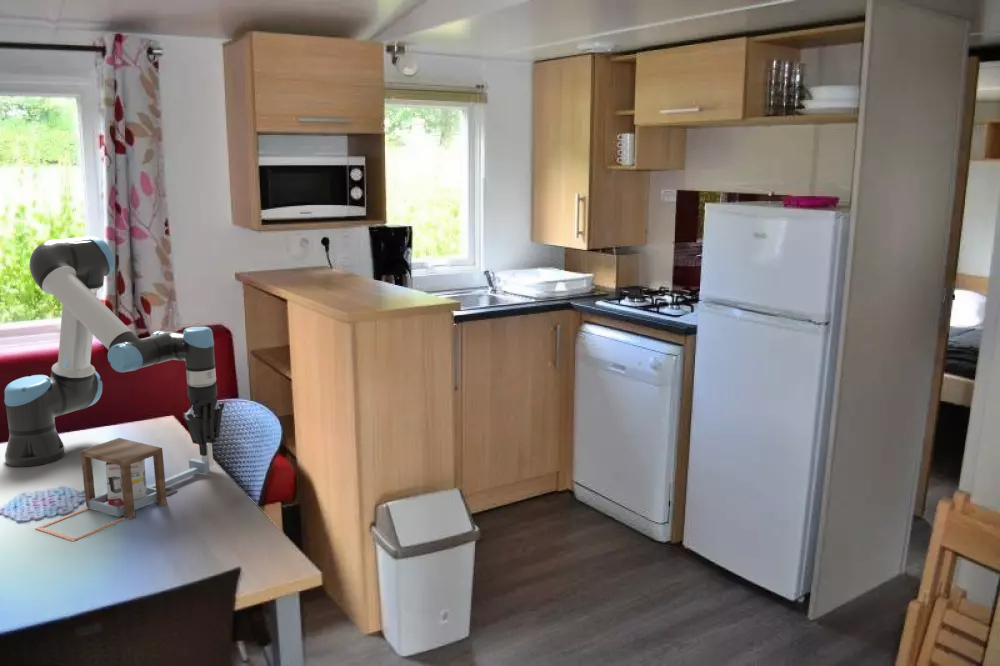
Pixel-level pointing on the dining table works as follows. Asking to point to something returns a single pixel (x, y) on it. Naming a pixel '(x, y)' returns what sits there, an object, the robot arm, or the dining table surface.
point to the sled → (148, 490)
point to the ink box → (116, 484)
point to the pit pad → (170, 492)
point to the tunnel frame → (124, 468)
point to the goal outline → (68, 536)
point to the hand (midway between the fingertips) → (207, 465)
